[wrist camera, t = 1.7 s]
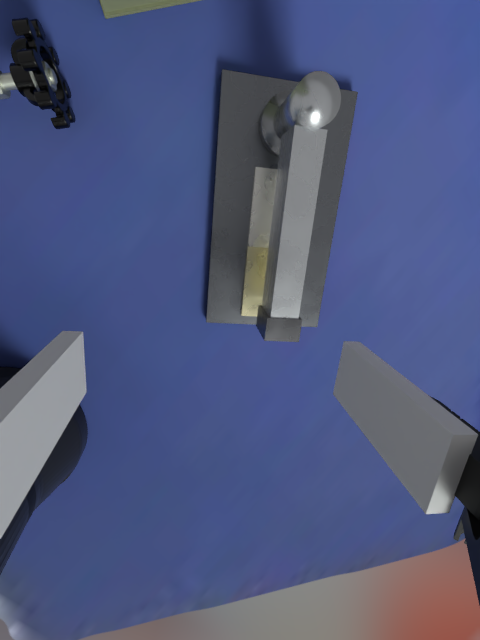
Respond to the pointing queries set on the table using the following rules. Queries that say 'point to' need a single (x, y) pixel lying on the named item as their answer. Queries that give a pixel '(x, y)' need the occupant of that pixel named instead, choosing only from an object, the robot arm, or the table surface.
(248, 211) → the plate
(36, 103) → the valve
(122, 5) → the ammunition box
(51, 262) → the table surface
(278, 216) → the grey long bar
